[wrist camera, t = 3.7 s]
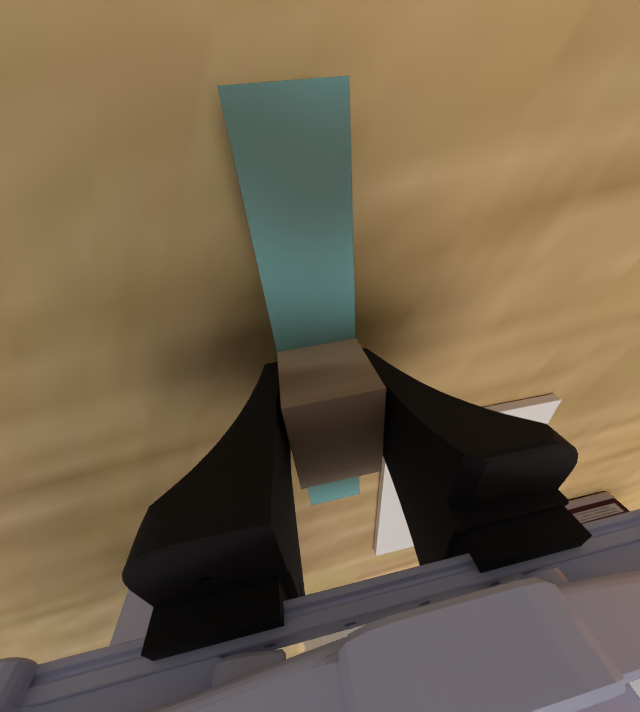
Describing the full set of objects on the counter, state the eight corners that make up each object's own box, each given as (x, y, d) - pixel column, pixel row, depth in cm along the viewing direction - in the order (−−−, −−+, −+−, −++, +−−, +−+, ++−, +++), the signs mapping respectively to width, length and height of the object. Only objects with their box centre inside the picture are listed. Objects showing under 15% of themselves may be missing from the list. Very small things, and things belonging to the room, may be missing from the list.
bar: (348, 458, 18) (377, 550, 13) (306, 468, 18) (320, 564, 13) (327, 105, 8) (408, -7, 4) (230, 113, 8) (179, 4, 3)
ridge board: (373, 548, 26) (384, 586, 24) (384, 426, 16) (406, 469, 14) (482, 522, 27) (504, 555, 25) (553, 393, 18) (600, 427, 15)
